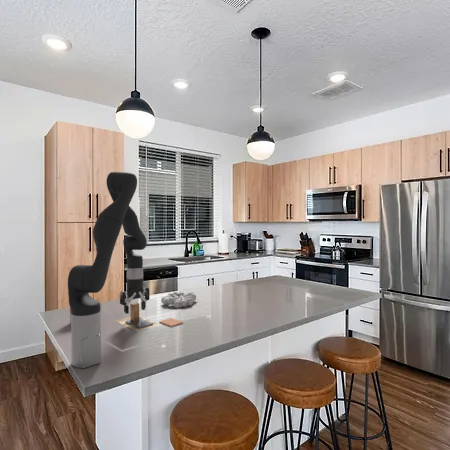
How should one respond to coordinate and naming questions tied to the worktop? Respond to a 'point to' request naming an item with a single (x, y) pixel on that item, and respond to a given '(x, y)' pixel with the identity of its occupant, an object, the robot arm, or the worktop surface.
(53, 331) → the worktop surface
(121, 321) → the board
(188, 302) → the grey lumpy flat piece
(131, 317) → the wooden post with base
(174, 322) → the tile
